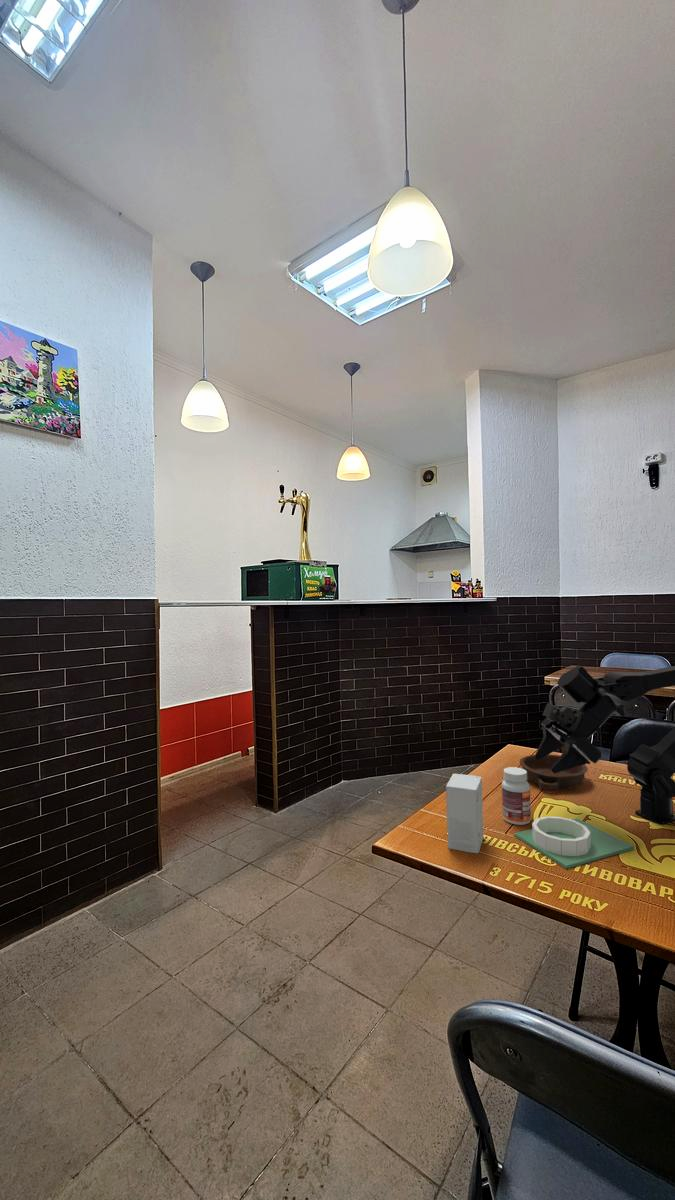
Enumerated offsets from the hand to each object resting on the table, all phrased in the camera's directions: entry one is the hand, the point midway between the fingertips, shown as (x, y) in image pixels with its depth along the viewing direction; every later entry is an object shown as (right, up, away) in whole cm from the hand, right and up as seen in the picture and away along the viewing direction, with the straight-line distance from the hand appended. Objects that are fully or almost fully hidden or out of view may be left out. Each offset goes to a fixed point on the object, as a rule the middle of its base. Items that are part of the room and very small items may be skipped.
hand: (543, 764), depth 112 cm
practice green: (+1, -12, -11) cm, 17 cm away
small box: (-21, -13, -10) cm, 26 cm away
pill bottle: (-6, -13, 0) cm, 14 cm away
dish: (+13, -13, +23) cm, 30 cm away
